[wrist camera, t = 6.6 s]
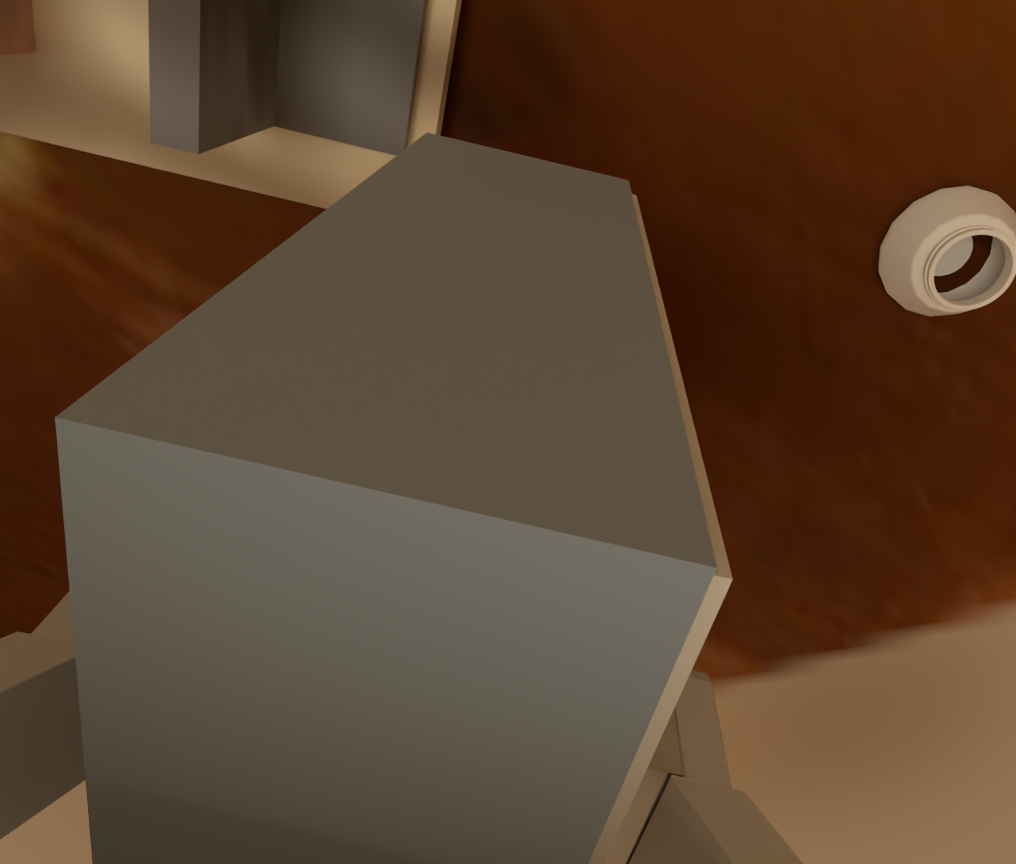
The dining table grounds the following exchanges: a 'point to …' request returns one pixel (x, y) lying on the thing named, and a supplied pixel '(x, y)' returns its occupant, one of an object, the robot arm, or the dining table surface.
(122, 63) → the shelf
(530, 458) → the grey rectangular block
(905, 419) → the dining table surface
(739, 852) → the robot arm
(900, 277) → the white jar
